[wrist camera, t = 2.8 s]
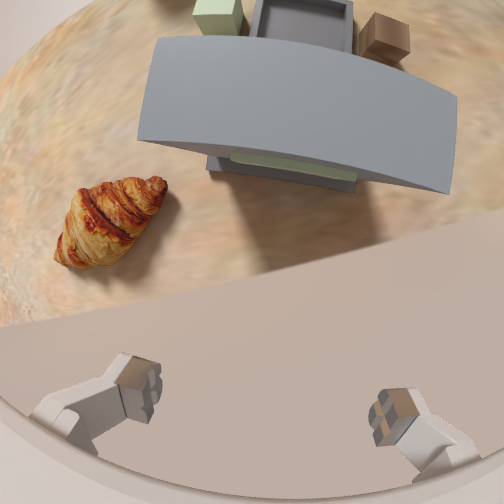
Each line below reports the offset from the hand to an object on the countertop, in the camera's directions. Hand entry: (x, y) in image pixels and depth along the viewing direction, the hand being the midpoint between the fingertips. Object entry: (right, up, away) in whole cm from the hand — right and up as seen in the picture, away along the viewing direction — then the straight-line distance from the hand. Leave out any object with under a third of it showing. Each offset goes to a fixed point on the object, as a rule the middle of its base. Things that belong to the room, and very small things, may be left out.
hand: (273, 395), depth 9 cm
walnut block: (+14, +29, +15) cm, 35 cm away
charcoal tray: (+5, +30, +15) cm, 34 cm away
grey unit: (+3, +17, +19) cm, 25 cm away
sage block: (-4, +32, +15) cm, 35 cm away
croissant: (-19, +9, +23) cm, 31 cm away
